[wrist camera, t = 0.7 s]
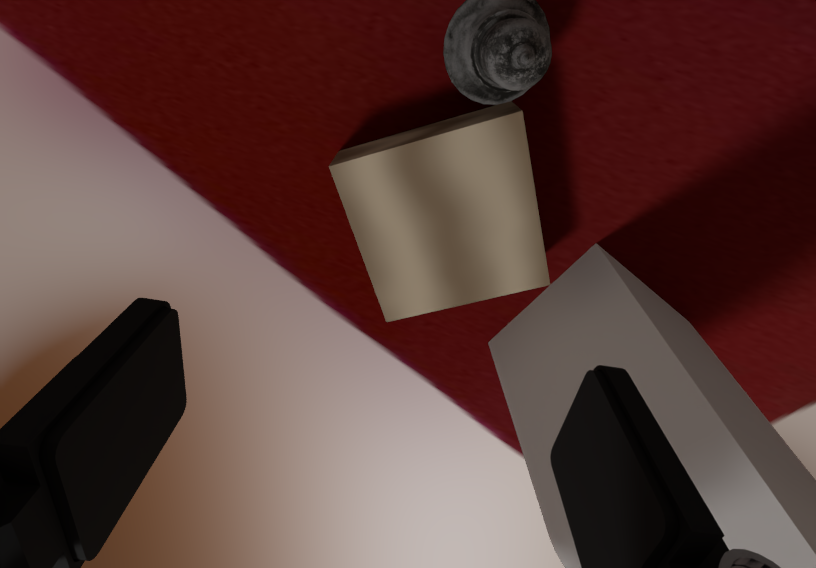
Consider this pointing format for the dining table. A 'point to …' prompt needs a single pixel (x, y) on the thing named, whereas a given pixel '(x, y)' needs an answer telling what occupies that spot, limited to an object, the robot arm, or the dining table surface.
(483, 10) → the black chess piece
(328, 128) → the dining table surface
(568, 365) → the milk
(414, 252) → the beech block
